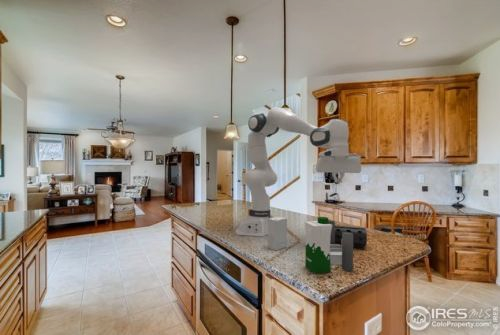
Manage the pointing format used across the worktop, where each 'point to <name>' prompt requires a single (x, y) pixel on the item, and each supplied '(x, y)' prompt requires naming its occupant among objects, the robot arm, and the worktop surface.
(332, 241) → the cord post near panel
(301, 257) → the worktop surface
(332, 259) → the panel
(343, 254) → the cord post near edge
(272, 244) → the skincare box
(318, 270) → the soya milk
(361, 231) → the muzzle brake
